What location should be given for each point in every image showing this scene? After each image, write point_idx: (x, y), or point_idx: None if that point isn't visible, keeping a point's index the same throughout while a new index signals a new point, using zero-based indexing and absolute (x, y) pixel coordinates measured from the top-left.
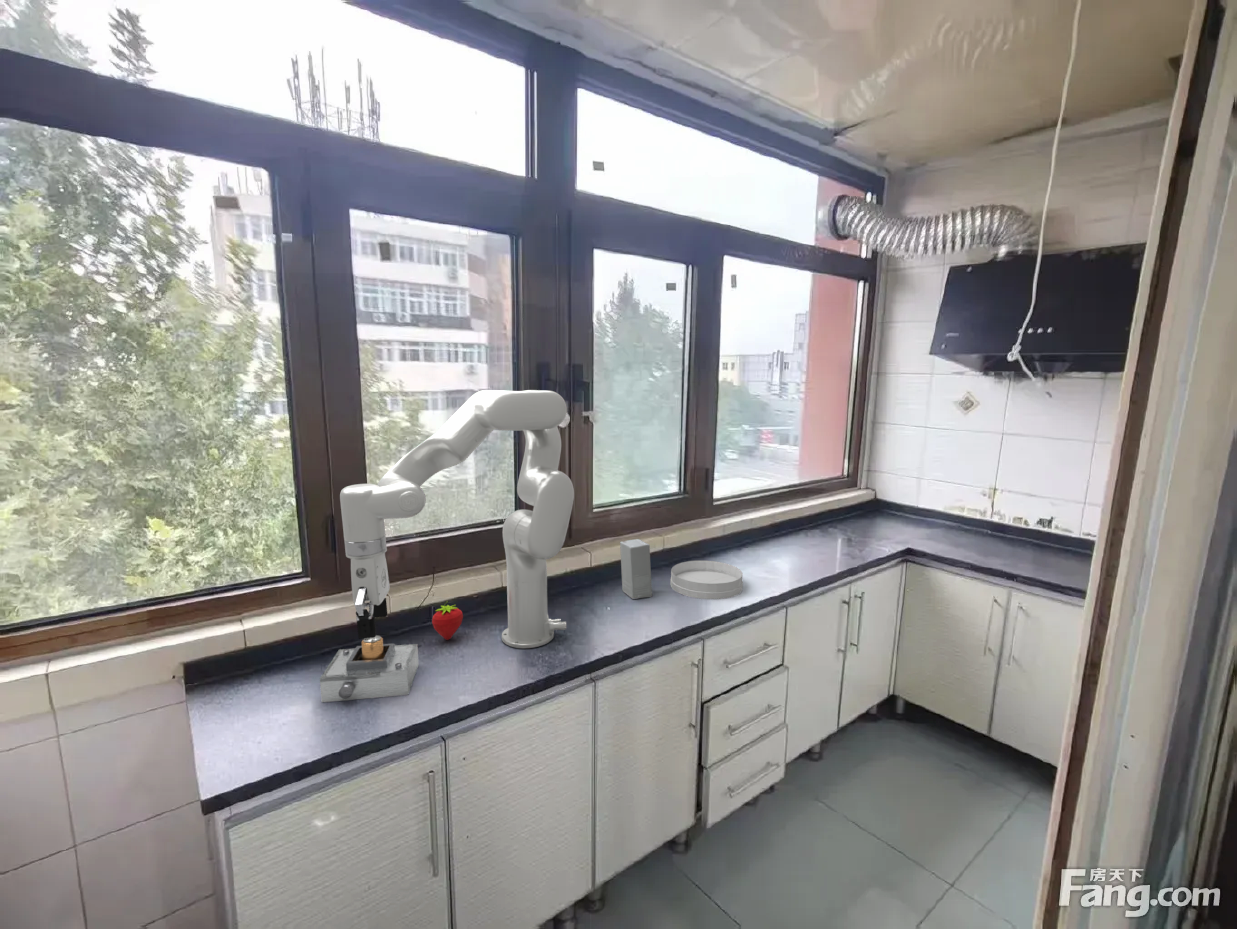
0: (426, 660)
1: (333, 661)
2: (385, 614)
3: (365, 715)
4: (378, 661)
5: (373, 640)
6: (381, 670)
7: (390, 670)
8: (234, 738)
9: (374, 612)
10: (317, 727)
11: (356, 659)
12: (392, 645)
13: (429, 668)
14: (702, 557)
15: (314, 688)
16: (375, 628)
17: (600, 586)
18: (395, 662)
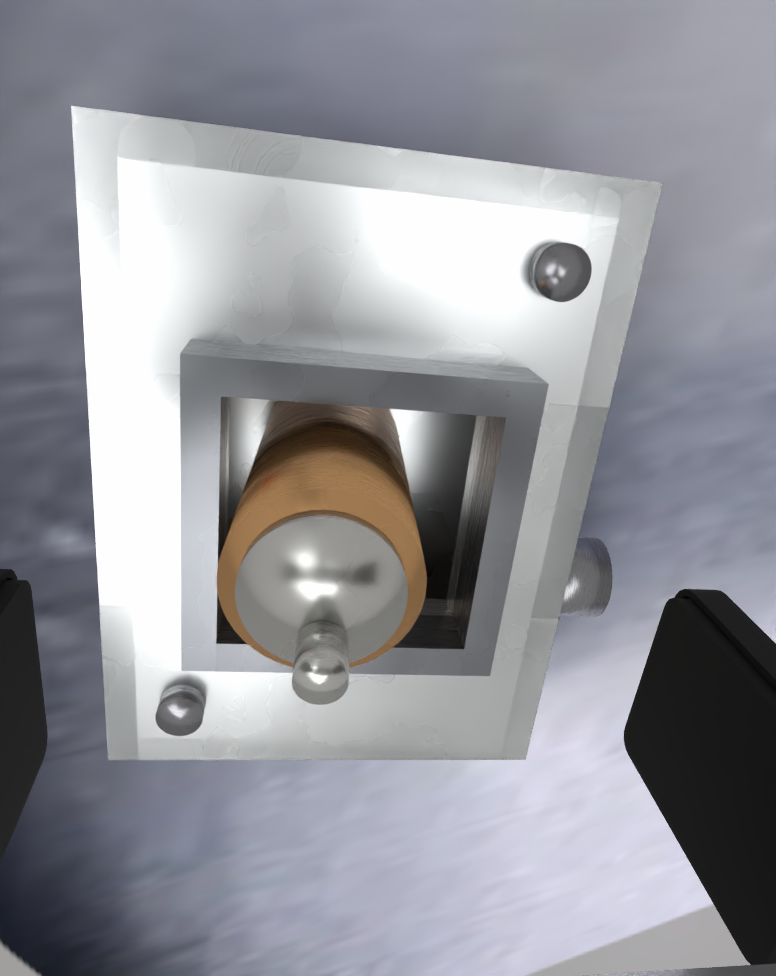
0: (36, 54)
1: (303, 747)
2: (20, 598)
3: (706, 422)
4: (533, 452)
5: (391, 575)
6: (563, 405)
7: (592, 333)
8: (646, 866)
9: (14, 771)
10: None
11: None
12: (228, 371)
13: (199, 21)
14: None
15: None
16: (768, 651)
17: None
18: (457, 307)
